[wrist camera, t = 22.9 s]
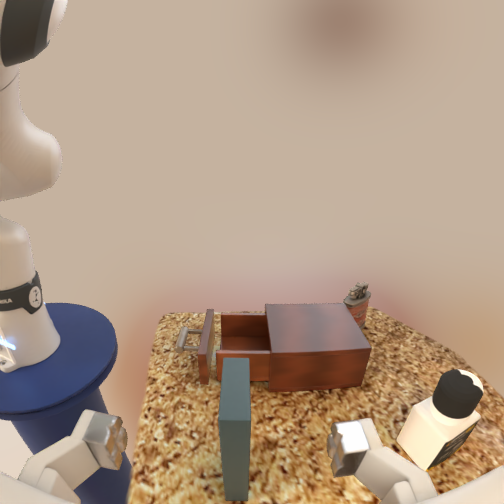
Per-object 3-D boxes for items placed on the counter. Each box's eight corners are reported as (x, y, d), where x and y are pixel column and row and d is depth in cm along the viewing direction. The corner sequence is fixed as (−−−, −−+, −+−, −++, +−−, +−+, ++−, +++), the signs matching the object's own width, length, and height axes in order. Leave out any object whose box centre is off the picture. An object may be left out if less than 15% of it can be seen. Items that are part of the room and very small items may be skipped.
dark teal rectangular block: (225, 500, 25) (218, 420, 20) (227, 448, 32) (223, 357, 28) (247, 501, 25) (251, 420, 20) (246, 448, 32) (249, 357, 28)
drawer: (172, 382, 43) (168, 352, 41) (186, 335, 55) (183, 308, 54) (290, 384, 43) (294, 354, 41) (281, 337, 56) (283, 309, 54)
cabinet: (268, 392, 43) (271, 352, 40) (263, 339, 57) (265, 303, 54) (361, 386, 43) (371, 347, 41) (338, 337, 57) (344, 302, 55)
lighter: (355, 319, 64) (362, 277, 61) (368, 325, 61) (376, 281, 58) (334, 333, 59) (341, 287, 55) (347, 340, 56) (356, 293, 53)
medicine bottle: (423, 474, 25) (466, 410, 22) (394, 440, 32) (425, 374, 28) (459, 450, 27) (499, 385, 24) (430, 421, 34) (461, 356, 30)
